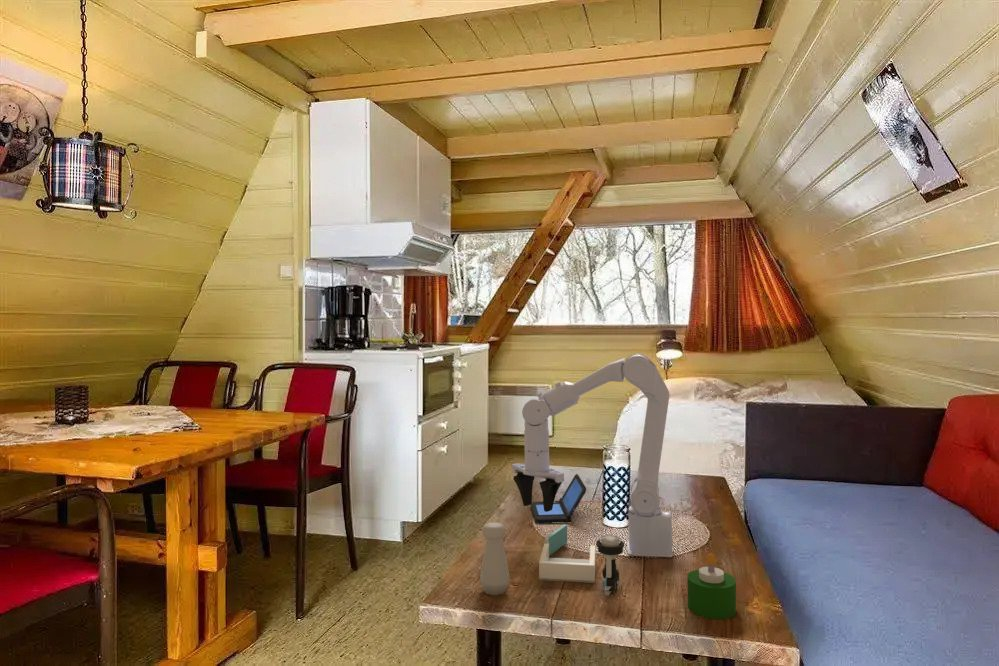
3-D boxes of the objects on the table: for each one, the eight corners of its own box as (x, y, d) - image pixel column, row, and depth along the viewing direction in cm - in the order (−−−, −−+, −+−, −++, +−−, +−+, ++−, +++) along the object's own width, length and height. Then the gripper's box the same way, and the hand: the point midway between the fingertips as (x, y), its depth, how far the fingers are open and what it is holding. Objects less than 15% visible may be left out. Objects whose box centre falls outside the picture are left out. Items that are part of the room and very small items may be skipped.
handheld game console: (530, 506, 177) (529, 473, 176) (577, 505, 177) (577, 472, 177) (535, 525, 161) (535, 489, 161) (587, 523, 162) (587, 487, 161)
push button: (620, 599, 117) (619, 546, 117) (592, 595, 119) (591, 543, 119) (627, 585, 123) (626, 535, 123) (600, 581, 125) (599, 531, 125)
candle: (746, 615, 111) (745, 559, 110) (705, 622, 108) (705, 565, 108) (717, 595, 119) (716, 542, 118) (678, 601, 116) (678, 548, 116)
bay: (595, 561, 136) (595, 545, 136) (594, 583, 125) (594, 565, 125) (544, 559, 138) (544, 543, 137) (539, 580, 127) (539, 562, 127)
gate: (564, 541, 148) (563, 524, 147) (567, 541, 147) (567, 524, 147) (544, 556, 138) (543, 538, 138) (547, 557, 138) (547, 539, 138)
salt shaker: (481, 584, 125) (479, 519, 125) (509, 584, 125) (508, 519, 125) (479, 597, 119) (478, 529, 119) (509, 597, 119) (508, 529, 119)
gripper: (502, 448, 149) (503, 505, 149) (549, 457, 139) (550, 518, 139) (522, 443, 154) (523, 498, 154) (569, 452, 144) (570, 511, 144)
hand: (537, 507), depth 147 cm, fingers open, 6 cm apart
